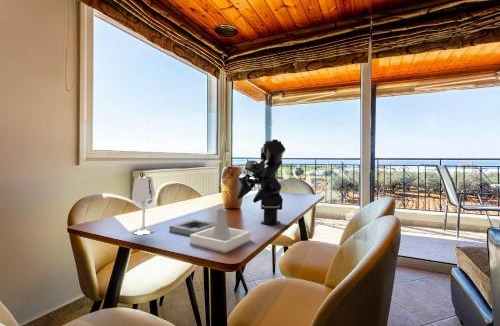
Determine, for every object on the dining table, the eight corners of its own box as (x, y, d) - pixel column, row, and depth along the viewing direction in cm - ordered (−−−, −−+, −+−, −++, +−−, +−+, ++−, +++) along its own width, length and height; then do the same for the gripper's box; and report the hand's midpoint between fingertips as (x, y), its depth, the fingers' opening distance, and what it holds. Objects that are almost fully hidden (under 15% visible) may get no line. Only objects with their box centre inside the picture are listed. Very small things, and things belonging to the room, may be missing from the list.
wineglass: (146, 227, 101) (147, 176, 101) (159, 231, 97) (159, 177, 97) (127, 232, 95) (127, 177, 95) (139, 236, 91) (140, 178, 90)
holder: (193, 224, 108) (193, 219, 108) (218, 229, 101) (219, 223, 101) (169, 231, 97) (169, 226, 97) (195, 237, 90) (195, 231, 90)
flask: (228, 244, 81) (228, 212, 81) (206, 242, 83) (206, 211, 83) (234, 238, 88) (235, 208, 88) (214, 236, 90) (214, 207, 90)
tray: (217, 233, 95) (217, 225, 95) (250, 240, 88) (250, 231, 88) (189, 244, 83) (189, 234, 83) (225, 253, 76) (225, 242, 76)
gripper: (242, 153, 102) (217, 182, 96) (275, 152, 88) (249, 187, 81) (257, 172, 107) (235, 202, 101) (291, 175, 93) (267, 209, 86)
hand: (245, 200), depth 92 cm, fingers open, 9 cm apart
